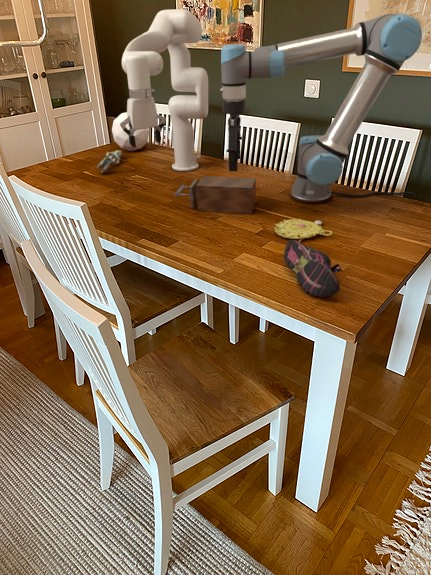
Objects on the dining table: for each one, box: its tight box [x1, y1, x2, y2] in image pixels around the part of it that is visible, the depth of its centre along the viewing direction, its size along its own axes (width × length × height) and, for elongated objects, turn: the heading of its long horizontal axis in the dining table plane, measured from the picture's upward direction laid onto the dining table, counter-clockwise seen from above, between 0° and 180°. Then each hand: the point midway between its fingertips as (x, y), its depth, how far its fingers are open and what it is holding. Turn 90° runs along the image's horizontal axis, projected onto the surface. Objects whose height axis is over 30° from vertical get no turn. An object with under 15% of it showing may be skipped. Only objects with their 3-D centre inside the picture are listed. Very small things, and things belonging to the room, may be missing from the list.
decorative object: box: [273, 218, 333, 243], centre depth 145 cm, size 21×2×20 cm
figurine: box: [96, 150, 123, 174], centre depth 213 cm, size 7×8×30 cm
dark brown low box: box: [196, 175, 257, 215], centre depth 164 cm, size 20×10×10 cm, turn 77°
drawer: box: [174, 178, 200, 208], centre depth 165 cm, size 25×9×8 cm, turn 77°
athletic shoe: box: [283, 239, 344, 298], centre depth 119 cm, size 11×22×12 cm
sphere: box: [111, 111, 150, 152], centre depth 232 cm, size 19×20×20 cm
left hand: (145, 144), depth 162 cm, fingers open, 9 cm apart
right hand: (234, 165), depth 153 cm, fingers open, 13 cm apart
